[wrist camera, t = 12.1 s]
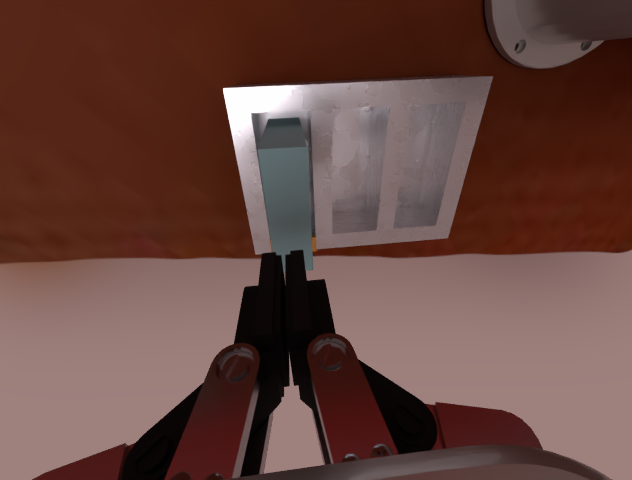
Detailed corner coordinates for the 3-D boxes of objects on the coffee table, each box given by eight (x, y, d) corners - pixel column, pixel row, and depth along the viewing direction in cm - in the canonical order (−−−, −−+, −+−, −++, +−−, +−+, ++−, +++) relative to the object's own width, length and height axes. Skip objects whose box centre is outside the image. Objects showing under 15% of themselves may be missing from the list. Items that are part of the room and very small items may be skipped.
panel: (298, 117, 22) (307, 146, 13) (304, 205, 26) (313, 269, 18) (268, 118, 22) (257, 149, 13) (278, 207, 26) (275, 273, 18)
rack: (453, 75, 22) (496, 76, 18) (424, 215, 29) (449, 241, 25) (235, 84, 21) (221, 88, 16) (260, 228, 28) (255, 258, 24)
